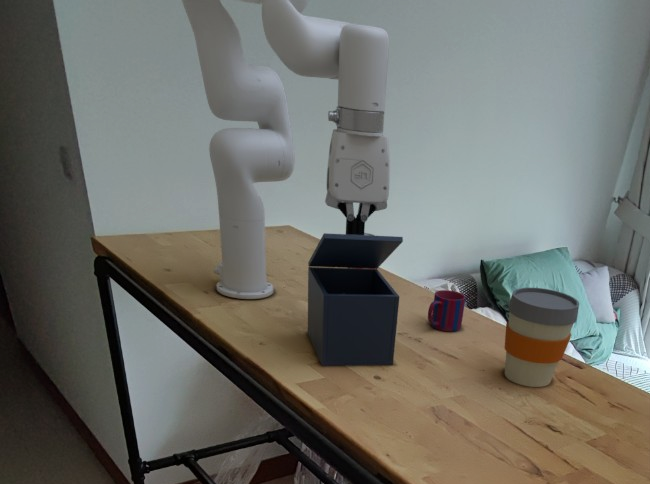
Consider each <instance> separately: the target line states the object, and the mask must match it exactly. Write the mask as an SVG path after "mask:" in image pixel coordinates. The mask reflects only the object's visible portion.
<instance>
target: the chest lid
mask: <svg viewBox="0 0 650 484" xmlns="http://www.w3.org/2000/svg"><path fill="white" fill-rule="evenodd" d="M403 238H404V237H403V236H392V235H375V236H372V235H349V234H346V233H325V232H324V233H323V234H322V236H321V238H320V240H319V241H318V243H317V245H316V246H315V249H314V251H313V253H312V254H311V257H310V258H309V260H308V266H307V267H325V268H375V269H377V270H378V269H379V268H380V267H381V265H382V264H383V263H384V262H385V261H386V260H387V259H388V258H389V257H390V256H391V255H392V254H393V253H394V252H395V251H396V249H398V247H400V245H401V244H402V243H403V242H404V239H403Z"/></svg>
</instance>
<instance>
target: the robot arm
mask: <svg viewBox="0 0 650 484" xmlns="http://www.w3.org/2000/svg"><path fill="white" fill-rule="evenodd" d="M234 1H235V2H242V3H249V4H256V5H261V20H262V28H263V32H264V36H265V38H266V41H267V43H268V45H269V46H270V48H271V49H272V50H273V52H274V53H275V54H276V57H278V58H279V60H280V61H281V63H282V64H284V66H285V67H286V68H287V69H288V70H289V71H291V72H292V73H294V75H298V76H301V77H306V78H318V79H319V78H320V79H329V80H337V81H338V82H337V106H336V108H335V109H334V110H333V111H331V110H329V111H328V114H327V119H328V121H329V122H333V123H334V124H335V126H336V128H335V129H332V133H331V138H330V143H329V149H328V150H329V152H328V159H327V169H326V196H325V199H324V203H325V205H327V207H331V208H333V209H336V210H339V211H340V212H341V213H342V215H343V216H344V217H345V218H346V220H345V234H349V235H364V233H365V230H366V229H365V228H366V227H365V226H366V222H367V221H368V219H369V218H370V217H371V216H372V215H373V214H374V213H375V212H378V211H379V212H380V211H383V210H386V209H387V208H388V200H389V195H390V172H391V169H390V168H391V167H390V166H391V165H390V164H391V163H390V162H391V160H390V142H389V135H387V134H384V128H385V113H386V100H387V99H386V98H387V97H386V96H387V84H388V83H387V82H388V71H389V70H388V69H389V68H388V67H389V66H388V65H389V55H390V37H389V34H388V32H387V31H386V29H384V28H382V27H379V26H374V25H368V24H359V23H351V22H347V21H342V20H336V19H335V20H334V19H332V18H330V19H329V18H325V17H317V16H310V15H304V14H302V13H303V12H304V11H305V9H306V7H307V6H308V4H309V1H310V0H234ZM181 2H182V6H183V8H184V10H185V13H186V15H187V18H188V21H189V23H190V26H191V29H192V32H193V35H194V36H193V37H194V40H195V44H196V51H197V55H198V56H197V57H198V61H199V66H200V71H201V77H202V81H203V86H204V91H205V95H206V100H207V105H208V107H209V110H210V111H211V113H212V114H213V115H214V116H215V118H217V119H220V120H224V121H231V122H232V121H233V122H253V123H255V122H257V126H258V128H253V127H227V128H221V129H219V130H217V132H214V134H213V135H212V137H211V138H210V141H209V148H208V151H209V158H210V162H211V167H212V171H213V175H214V181H215V188H216V196H217V206H218V209H217V210H218V218H219V219H218V220H219V221H218V222H219V235H220V251H221V262H219V263H218V264H217V265H216V266H215V267H214V268H213V269H212V271H213V273H214V274H216V275H217V276H218V275H219V281H218V282H217V283H216V291H217V292H218V293H219V294H221V295H223V296H226V297H229V298H231V299H232V298H233V299H238V300H239V299H240V300H258V299H264V298H268V297H270V296H272V295H273V294H274V285H273V284H271V283H270V282H268V281H267V260H266V259H267V258H266V257H267V255H266V253H267V252H266V250H267V249H266V220H265V218H266V217H265V216H266V215H265V214H266V213H265V206H264V202H263V200H262V198H261V196H260V195H259V193H258V191H257V189H256V188H255V185H254V184H255V183H256V184H257V183H271V182H283V181H286V180H288V179H289V178H290V177H291V176H292V174H293V172H294V169H295V163H296V161H295V159H296V158H295V148H294V140H293V135H292V129H291V128H292V127H291V120H290V113H289V106H288V100H287V96H286V91H285V86H284V84H283V82H282V79H281V78H280V76H279V75H278V73H277V72H276V71H275V70H274V69H273V68H271V67H268V66H266V65H261V64H252V63H251V64H250V63H248V62H247V60H246V59H245V55H244V51H243V43H242V38H241V34H240V32H239V29H238V27H237V25H236V23H235V21H234V20H233V18H232V17H231V14H230V13H229V11H228V10H227V9H226V7H225V6H224V5H223V4H222V2H221V0H181ZM354 203H356V204H357V203H358V209H357V214H356V215H355V210H354V208H355V207H354Z"/></svg>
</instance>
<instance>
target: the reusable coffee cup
mask: <svg viewBox="0 0 650 484" xmlns="http://www.w3.org/2000/svg"><path fill="white" fill-rule="evenodd" d="M509 300H510V301H509V303H508V307H507V310H508V312H509V314H508V321H507V322H506V324H505V335H504V337H505V338H504V350H505V353H506V354H505V363H504V364H505V365H504V376H505V377H506V379H508V381H510V382H512V383H514V384H516V385H520V386H524V387H529V388H541V387H547V386H548V385H550V384H551V382H552V379H553V378H554V374H555V372H556V369H557V367H558V365H559V362H560V361H562V359H563V357H564V356H565V352H566V350H567V347H568V345H569V342H570V340H571V338H572V333H571V332H572V328H573V327H574V324H575V323H576V322H577V321H578V315H579V309H580V301H579V300H577V298H575V297H574V296H572V295H570V294H567V293H565V292H561V291H558V290H554V289H549V288H543V287H520V288H517V289H514V290H513V292H512V294H511V297H510V299H509Z"/></svg>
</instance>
